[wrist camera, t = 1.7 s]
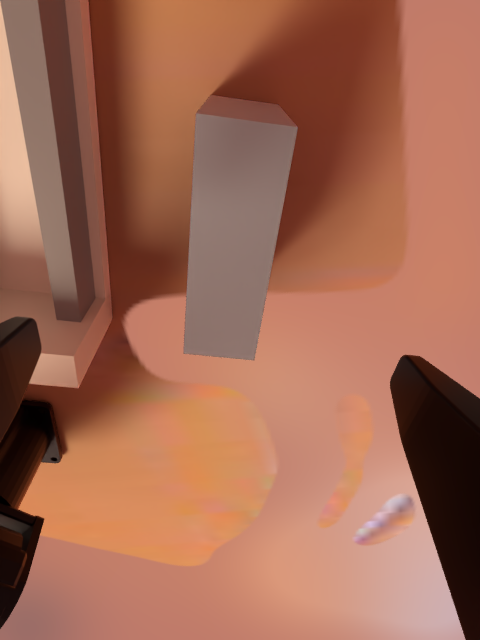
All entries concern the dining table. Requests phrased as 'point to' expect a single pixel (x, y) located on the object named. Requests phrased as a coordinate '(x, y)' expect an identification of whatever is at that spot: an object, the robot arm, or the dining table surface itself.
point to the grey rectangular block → (234, 222)
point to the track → (52, 186)
